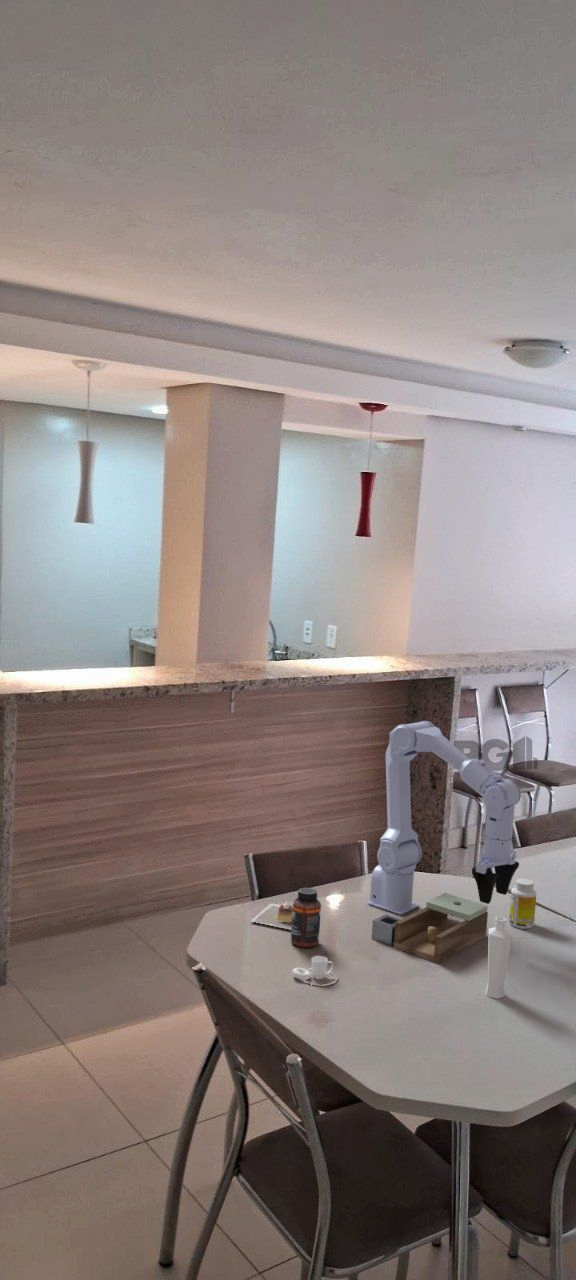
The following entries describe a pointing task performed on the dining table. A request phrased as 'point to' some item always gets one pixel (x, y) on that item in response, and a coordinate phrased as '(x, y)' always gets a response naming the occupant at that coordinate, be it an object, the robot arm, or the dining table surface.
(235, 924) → the dining table surface
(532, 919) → the supplement bottle
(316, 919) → the supplement bottle
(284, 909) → the dessert
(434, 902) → the cover
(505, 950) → the perfume bottle
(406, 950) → the housing
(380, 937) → the grey hollow square block
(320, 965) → the teacup and saucer
